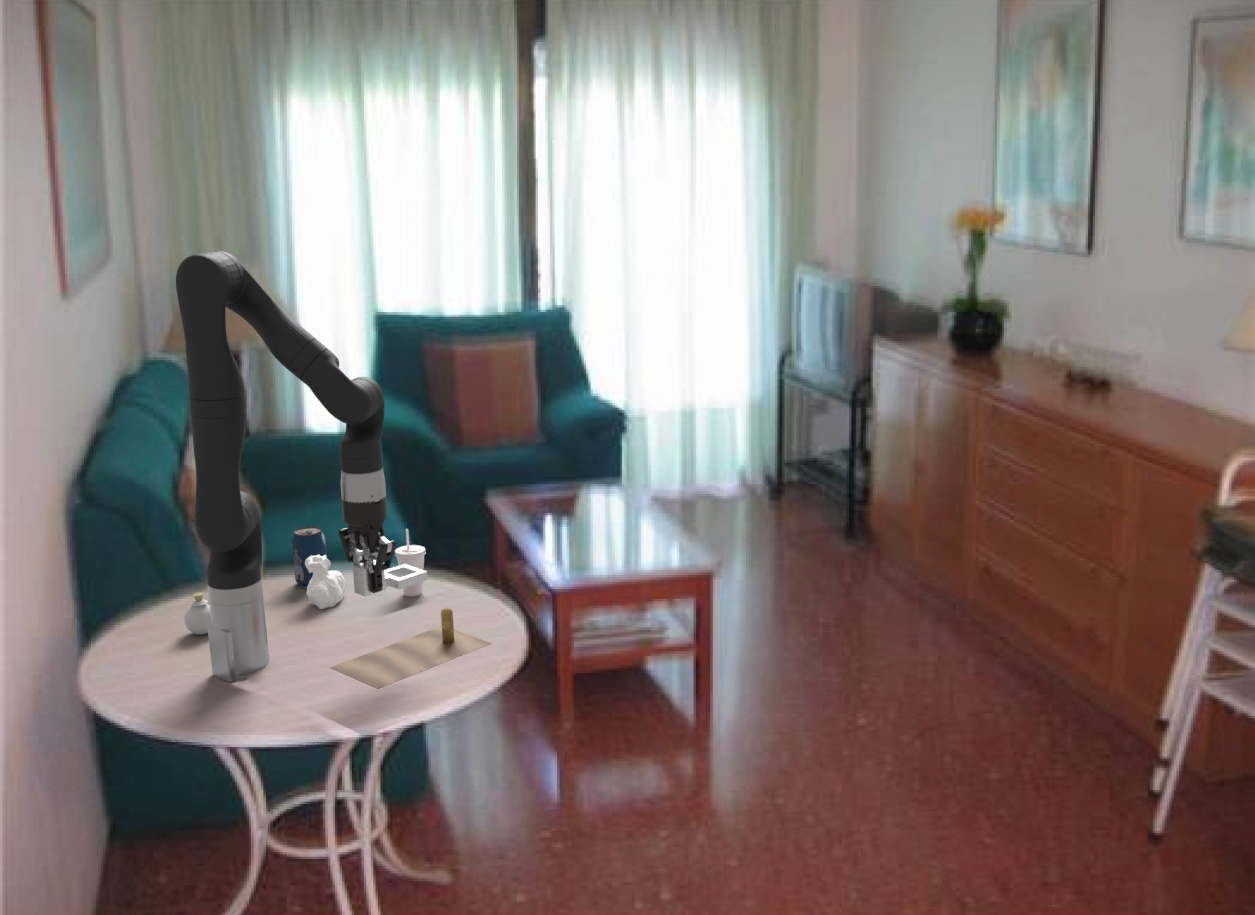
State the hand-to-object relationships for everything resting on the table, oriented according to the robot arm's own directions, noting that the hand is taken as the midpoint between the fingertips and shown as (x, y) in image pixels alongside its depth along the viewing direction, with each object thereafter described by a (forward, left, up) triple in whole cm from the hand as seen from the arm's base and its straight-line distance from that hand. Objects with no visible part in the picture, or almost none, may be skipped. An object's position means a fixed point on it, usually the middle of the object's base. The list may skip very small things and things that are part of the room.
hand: (370, 588), depth 226 cm
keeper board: (+8, 0, -17) cm, 18 cm away
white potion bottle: (-9, +43, -17) cm, 47 cm away
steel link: (+4, 0, 0) cm, 4 cm away
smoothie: (+31, +29, -17) cm, 46 cm away
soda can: (+21, +51, -17) cm, 58 cm away
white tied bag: (+16, +39, -17) cm, 45 cm away
